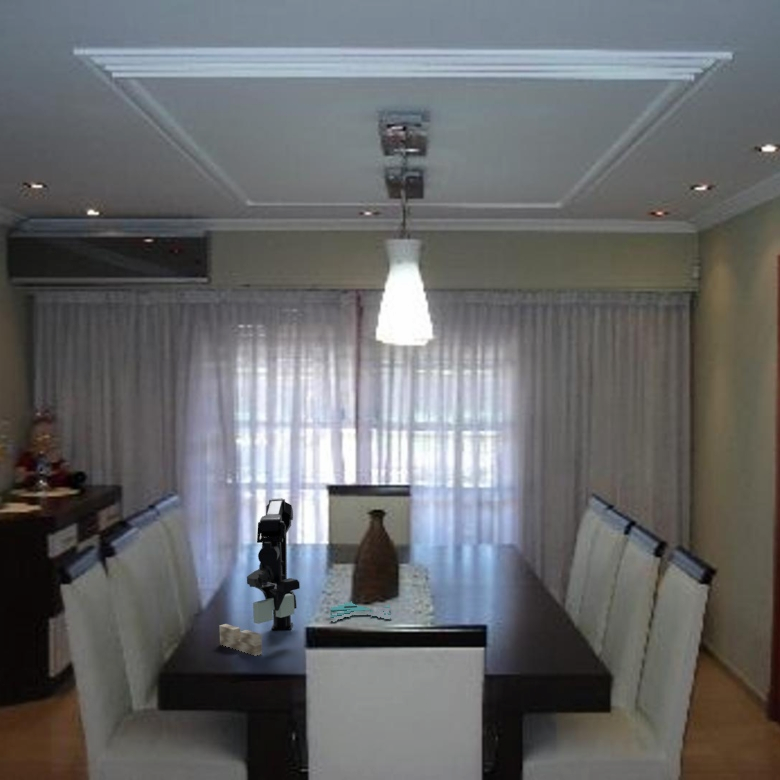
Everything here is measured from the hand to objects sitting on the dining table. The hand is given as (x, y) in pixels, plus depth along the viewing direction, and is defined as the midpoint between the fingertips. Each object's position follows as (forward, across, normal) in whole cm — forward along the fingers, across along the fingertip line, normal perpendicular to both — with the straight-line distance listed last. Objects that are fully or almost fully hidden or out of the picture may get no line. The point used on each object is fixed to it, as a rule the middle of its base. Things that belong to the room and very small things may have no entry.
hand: (273, 609), depth 296 cm
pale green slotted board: (+2, 0, 0) cm, 2 cm away
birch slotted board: (+11, -6, -9) cm, 15 cm away
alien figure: (+12, -6, +43) cm, 45 cm away
